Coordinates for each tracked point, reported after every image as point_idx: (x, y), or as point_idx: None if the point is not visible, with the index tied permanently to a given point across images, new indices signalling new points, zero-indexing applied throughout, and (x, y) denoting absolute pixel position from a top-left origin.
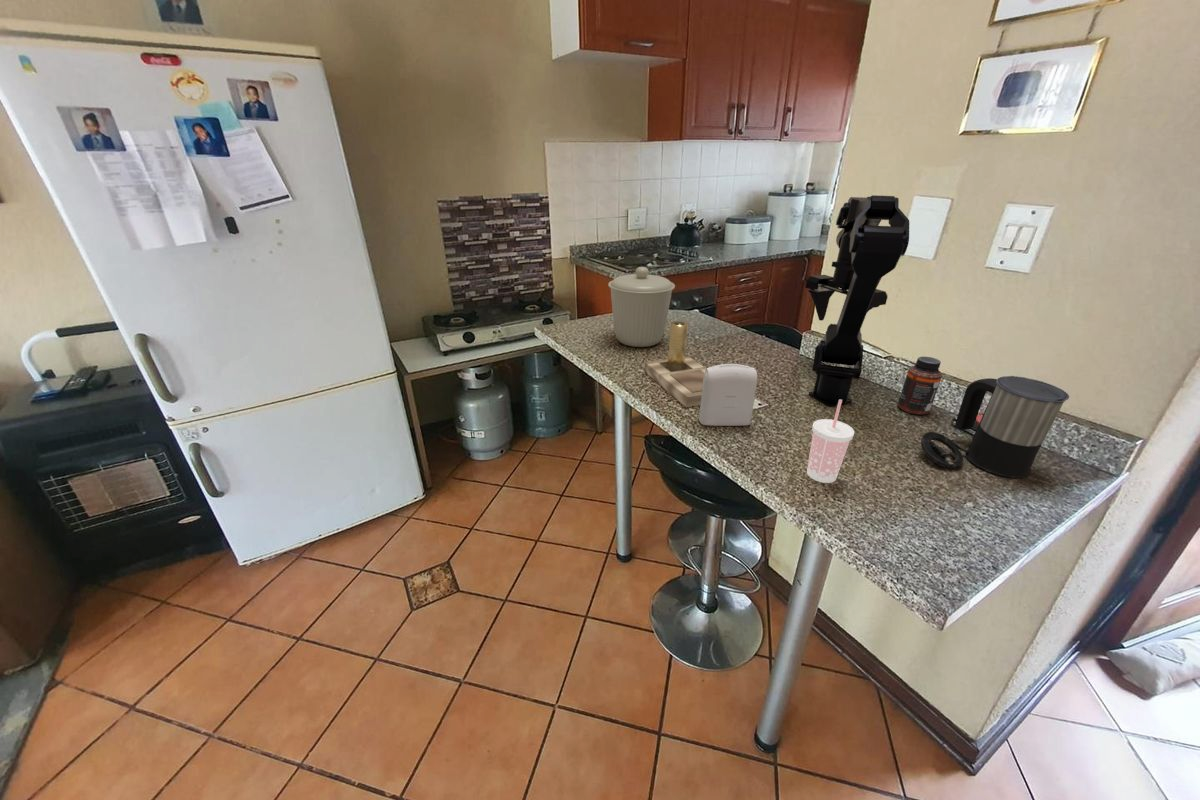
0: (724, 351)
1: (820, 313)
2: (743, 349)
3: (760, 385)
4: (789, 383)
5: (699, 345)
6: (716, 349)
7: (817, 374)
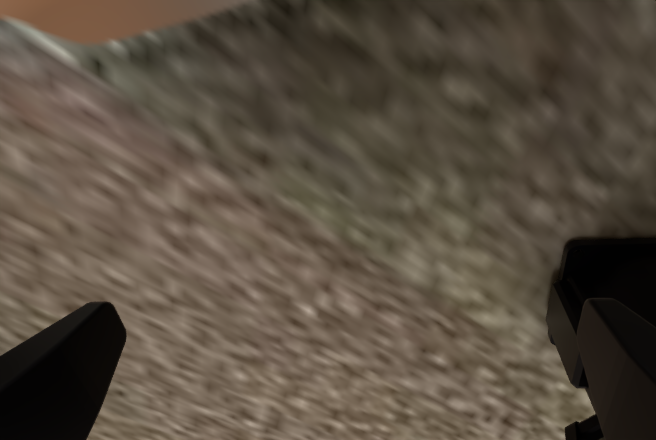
0: None
1: (82, 421)
2: (41, 286)
3: (403, 408)
4: (424, 329)
5: None
6: None
7: (576, 386)
